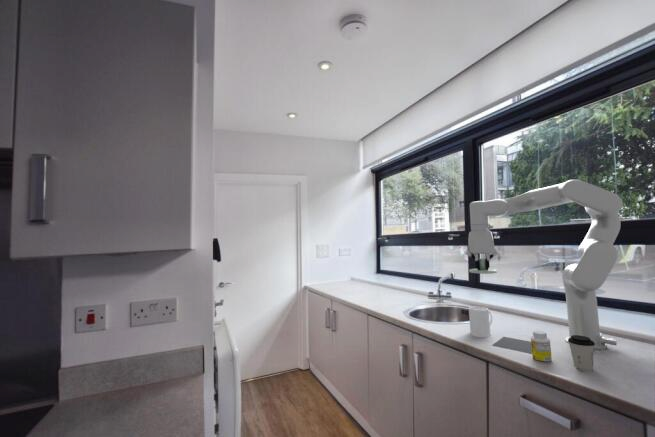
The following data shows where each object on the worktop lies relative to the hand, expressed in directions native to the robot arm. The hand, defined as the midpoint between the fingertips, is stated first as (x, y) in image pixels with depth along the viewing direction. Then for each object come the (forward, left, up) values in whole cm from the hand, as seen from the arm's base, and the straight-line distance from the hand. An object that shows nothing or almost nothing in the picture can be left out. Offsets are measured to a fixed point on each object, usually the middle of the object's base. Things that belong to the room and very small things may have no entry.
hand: (482, 269), depth 137 cm
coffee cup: (-35, +14, -30) cm, 48 cm away
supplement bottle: (-24, +16, -30) cm, 41 cm away
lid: (0, 0, -1) cm, 1 cm away
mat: (-13, +5, -30) cm, 33 cm away
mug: (+2, -1, -30) cm, 30 cm away
